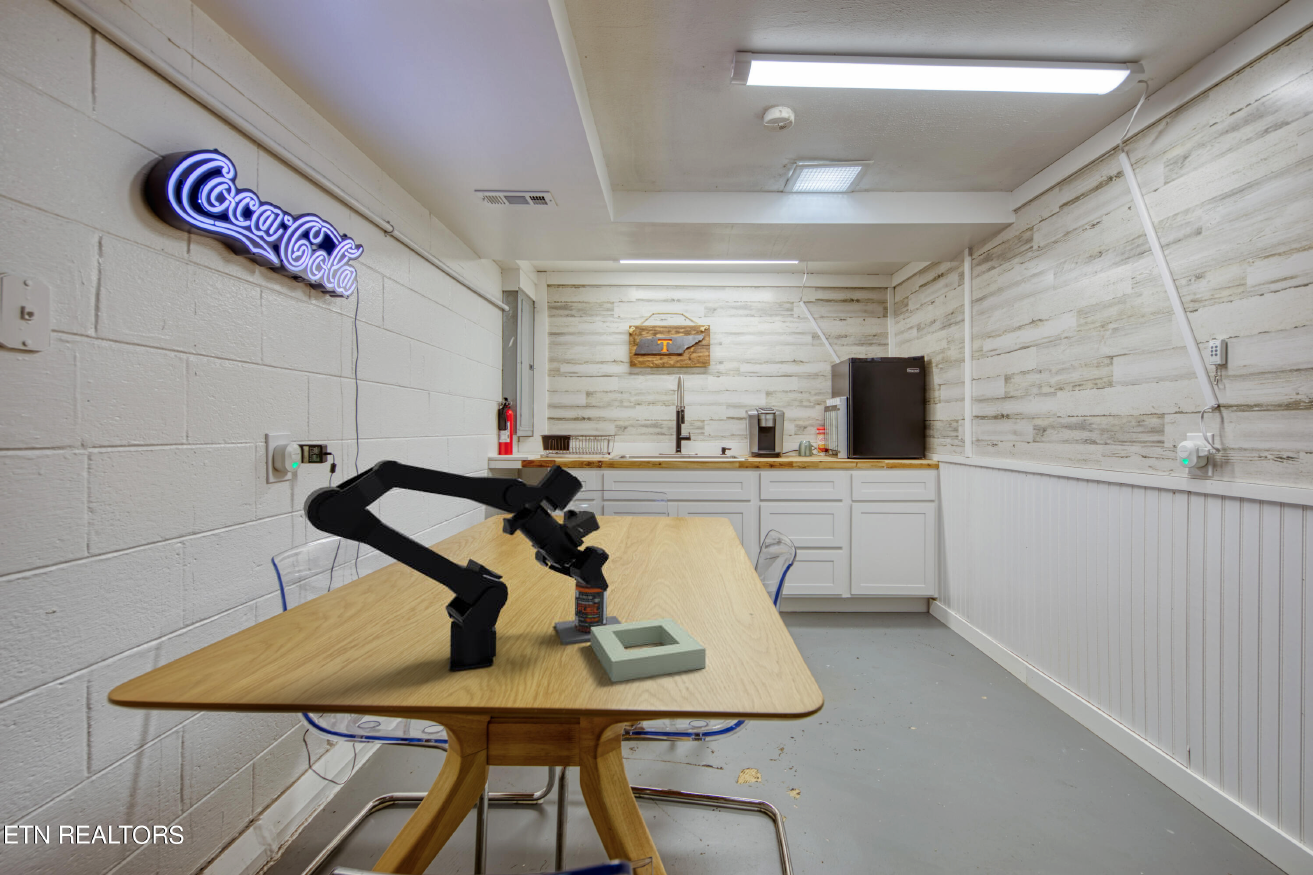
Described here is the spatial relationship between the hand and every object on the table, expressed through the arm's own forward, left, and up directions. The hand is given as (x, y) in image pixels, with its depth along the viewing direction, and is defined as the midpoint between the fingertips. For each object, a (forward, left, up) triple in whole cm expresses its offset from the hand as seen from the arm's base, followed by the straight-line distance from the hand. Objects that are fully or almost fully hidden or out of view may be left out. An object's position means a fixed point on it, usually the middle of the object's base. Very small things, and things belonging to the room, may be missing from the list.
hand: (597, 584), depth 96 cm
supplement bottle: (-1, -1, -8) cm, 8 cm away
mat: (-1, 0, -8) cm, 8 cm away
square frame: (+5, -14, -8) cm, 17 cm away
